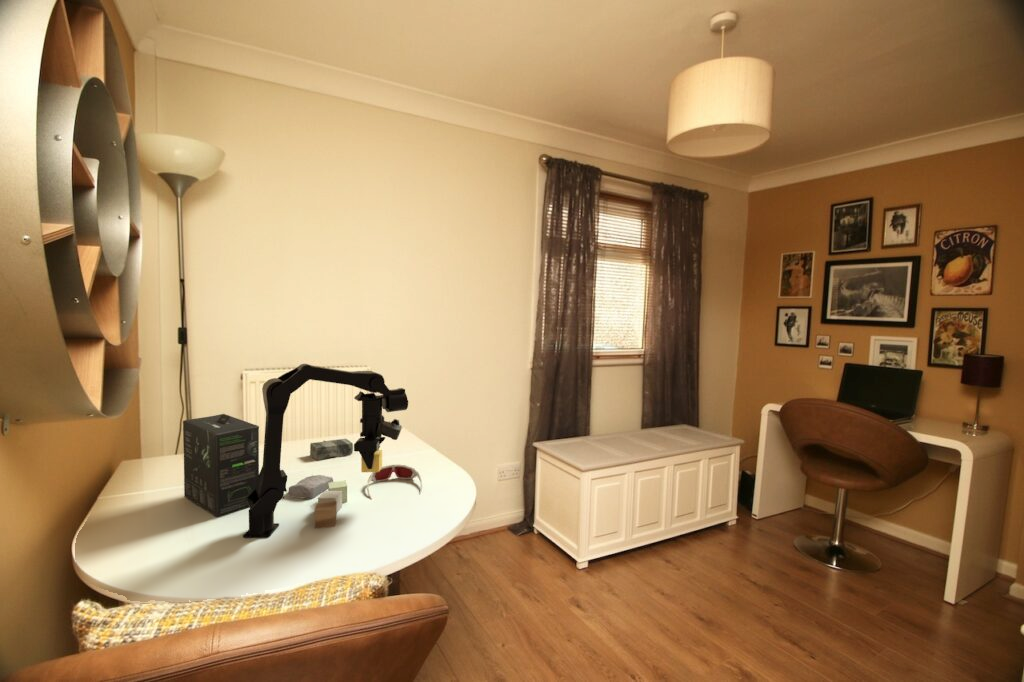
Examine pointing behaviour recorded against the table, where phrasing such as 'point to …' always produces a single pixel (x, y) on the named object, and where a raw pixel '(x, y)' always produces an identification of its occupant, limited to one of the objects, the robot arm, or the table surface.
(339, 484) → the sage cube
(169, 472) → the table surface
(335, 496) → the grey cube
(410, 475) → the sunglasses
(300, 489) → the stone block
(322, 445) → the stone block
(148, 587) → the table surface
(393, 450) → the table surface
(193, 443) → the headset box
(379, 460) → the mustard cube
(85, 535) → the table surface
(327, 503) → the walnut cube
